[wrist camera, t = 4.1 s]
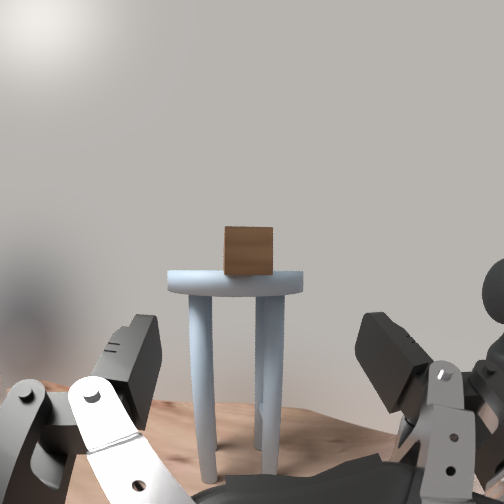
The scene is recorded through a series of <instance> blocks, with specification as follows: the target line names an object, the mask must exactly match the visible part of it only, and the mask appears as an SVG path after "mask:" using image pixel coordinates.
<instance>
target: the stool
mask: <svg viewBox="0 0 504 504" xmlns="http://www.w3.org/2000/svg"><path fill="white" fill-rule="evenodd" d="M168 291H170V292H174V293H179V294H187V295H189V333H190V358H191V377H192V392H193V405H194V417H195V428H196V437H197V446H198V455H199V463H200V471H201V478H202V481H203V482H204V483H206V484H213V483H215V482H217V469H216V457H215V451H216V450H217V435H216V419H215V401H214V377H213V376H214V375H213V345H212V344H213V342H212V296H217V297H218V296H219V297H256V331H255V333H256V334H255V337H256V338H255V340H256V341H255V346H256V347H255V439H254V448H255V449H256V450H260V451H262V460H261V474H272V475H277V467H278V453H279V438H280V421H281V401H282V377H283V349H284V302H285V300H284V299H285V297H284V296H285V295H289V294H295V293H300V292H303V271H273V275H224V271H218V270H217V271H216V270H215V271H213V270H205V271H203V270H168Z"/></svg>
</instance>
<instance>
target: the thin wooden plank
mask: <svg viewBox="0 0 504 504" xmlns="http://www.w3.org/2000/svg"><path fill="white" fill-rule="evenodd" d="M224 236H225V237H224V262H223V271H224V275H273V228H272V227H232V226H230V227H229V226H225V234H224Z"/></svg>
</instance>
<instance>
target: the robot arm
mask: <svg viewBox="0 0 504 504" xmlns="http://www.w3.org/2000/svg"><path fill="white" fill-rule="evenodd" d="M482 299H483V304H484V306H485V309H486V311H487V313H488V314H489V315H490V317H491V318H492V319H494V320H495V321H497V322H498V323H501V324H504V259H502V260H500V261H498V262H497V263H495V264H494V265H493V266H492V268H491V269H490V270H489V272H488V273H487V275H486V277H485V280H484V283H483V288H482ZM355 355H356V358H357V360H358V362H359V363H360V365H361V367H362V368H363V370H364V372H365V373H366V375H367V376H368V378H369V380H370V381H371V383H372V385H373V386H374V388H375V390H376V391H377V393H378V395H379V397H380V398H381V400H382V402H383V403H384V405H385V407H386V408H387V410H388V412H389V413H394V412H397V411H400V410H401V411H402V412H403V414H404V415H403V417H402V418H401V422H400V427H399V430H398V434H397V438H396V442H395V446H394V449H393V453H392V455H391V458H390V460H389V462H385V461H383V462H382V460H381V458H380V456H379V454H378V453H377V454H373V455H370V456H366V457H363V458H359V459H355V460H351V461H347V462H344V463H342V464H340V465H338V466H336V467H333V468H331V469H329V470H327V471H324V472H322V473H320V474H317V475H315V476H312V477H293V476H281V475H272V474H258V475H225V479H226V484H224V485H220V486H216V487H212V488H209V489H206V490H204V491H201V492H199V493H197V494H195V495H193V496H191V497H190V496H189V495H188V494H187V493H186V492H185V491H184V489H183V488H182V487H181V486H180V485H179V483H178V482H177V481H176V480H175V479H174V477H173V476H172V475H171V473H170V472H169V471H168V470H167V468H166V467H165V466H164V464H163V463H162V462H161V460H160V459H159V458H158V456H157V455H156V453H155V452H154V451H153V449H152V448H151V446H150V445H149V443H148V442H147V440H146V439H145V438H144V436H143V435H142V434H141V433H139V432H138V431H137V430H144V431H145V427H146V423H147V419H148V414H149V410H150V406H151V402H152V397H153V393H154V390H155V386H156V382H157V378H158V374H159V371H160V367H161V362H162V348H161V342H160V335H159V329H158V321H157V317H156V316H155V315H140V314H136V315H135V317H134V318H133V320H132V322H131V324H130V326H129V327H125V326H122V327H121V328H120V329H118V330H117V331H116V332H115V333H113V335H112V337H111V338H110V340H109V342H108V344H107V345H106V347H105V349H104V352H103V353H102V354H101V356H100V358H99V360H98V362H97V364H96V366H95V367H94V370H93V371H92V373H91V375H90V377H87V378H83V379H81V380H79V381H77V382H76V383H75V384H74V385H73V386H72V387H71V389H70V391H69V392H46V390H45V388H44V386H43V385H42V384H41V383H40V382H39V381H37V380H33V379H26V380H22V381H20V382H18V383H16V384H15V385H14V386H13V387H12V388H11V390H10V391H9V393H8V395H7V396H6V398H5V400H4V401H3V403H2V405H1V406H0V504H65V500H66V495H67V491H68V486H69V482H70V478H71V474H72V470H73V466H74V462H75V459H76V455H77V454H87V456H88V459H89V461H90V464H91V466H92V468H93V470H94V472H95V474H96V476H97V478H98V480H99V482H100V484H101V486H102V488H103V490H104V491H105V493H106V495H107V497H108V499H109V500H110V502H111V504H504V333H503V335H502V336H501V337H500V338H499V339H498V340H497V341H496V342H494V343H493V344H492V345H491V346H490V348H489V350H488V352H487V357H486V360H479V361H477V363H476V364H475V366H474V368H473V370H472V372H460V370H459V369H458V368H457V367H456V366H455V365H454V364H452V363H450V362H447V361H435V362H434V361H433V360H432V359H431V358H430V357H429V356H428V354H427V353H426V352H425V351H424V350H423V349H422V348H421V347H420V346H419V344H418V343H415V340H414V339H413V338H412V337H410V335H409V334H408V333H407V332H406V330H405V329H404V328H402V327H400V326H399V325H397V324H395V323H394V322H393V321H392V320H391V319H390V318H389V317H388V316H387V315H386V314H385V313H384V312H374V313H366V314H365V315H364V316H363V319H362V322H361V326H360V330H359V333H358V337H357V341H356V344H355ZM136 429H137V430H136ZM474 472H475V474H476V476H477V478H478V480H479V482H480V484H481V486H482V488H483V490H484V491H485V494H484V495H481V494H478V493H475V492H472V490H473V481H474Z"/></svg>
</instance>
